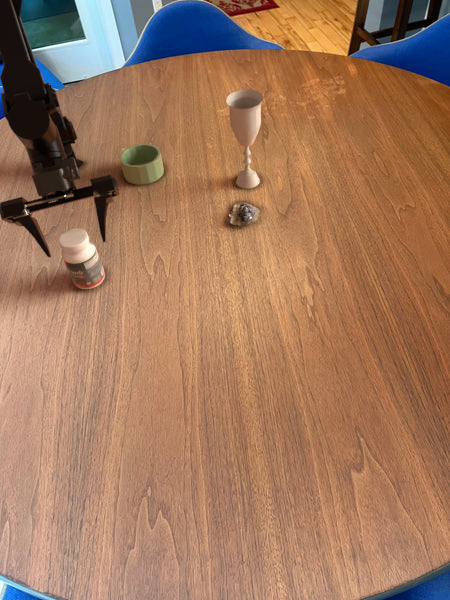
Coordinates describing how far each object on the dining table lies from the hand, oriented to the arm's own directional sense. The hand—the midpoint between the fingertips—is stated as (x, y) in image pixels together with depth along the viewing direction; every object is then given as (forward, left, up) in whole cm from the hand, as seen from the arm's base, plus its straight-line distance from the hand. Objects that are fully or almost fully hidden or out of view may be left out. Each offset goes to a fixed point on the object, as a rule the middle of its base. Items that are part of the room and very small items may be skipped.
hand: (77, 249), depth 80 cm
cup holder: (-12, +30, -7) cm, 34 cm away
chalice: (+10, +38, -8) cm, 40 cm away
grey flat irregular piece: (+15, +28, -8) cm, 33 cm away
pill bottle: (0, 0, -8) cm, 8 cm away
